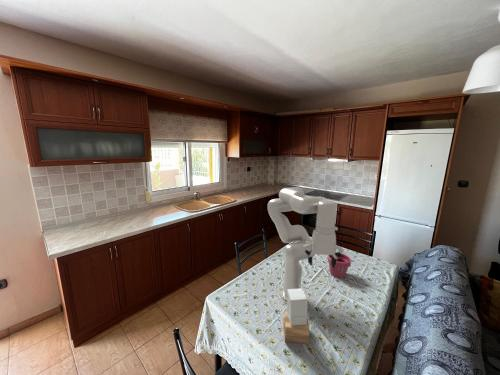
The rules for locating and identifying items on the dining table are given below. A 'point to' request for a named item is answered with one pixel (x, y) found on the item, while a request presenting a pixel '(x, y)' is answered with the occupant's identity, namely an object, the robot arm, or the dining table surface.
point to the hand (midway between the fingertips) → (321, 264)
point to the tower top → (296, 328)
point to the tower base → (295, 338)
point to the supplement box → (297, 307)
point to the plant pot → (339, 266)
